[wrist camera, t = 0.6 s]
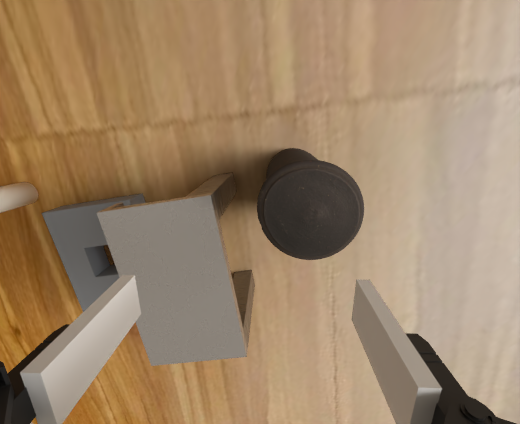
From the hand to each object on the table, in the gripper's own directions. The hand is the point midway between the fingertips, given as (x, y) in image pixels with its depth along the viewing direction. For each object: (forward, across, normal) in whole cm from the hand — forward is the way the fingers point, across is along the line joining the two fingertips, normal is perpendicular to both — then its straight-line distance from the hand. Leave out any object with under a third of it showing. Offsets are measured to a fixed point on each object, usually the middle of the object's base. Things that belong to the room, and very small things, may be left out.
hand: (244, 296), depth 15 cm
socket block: (+26, -24, -10) cm, 37 cm away
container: (+27, +5, +3) cm, 27 cm away
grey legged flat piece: (+26, -9, -7) cm, 29 cm away
